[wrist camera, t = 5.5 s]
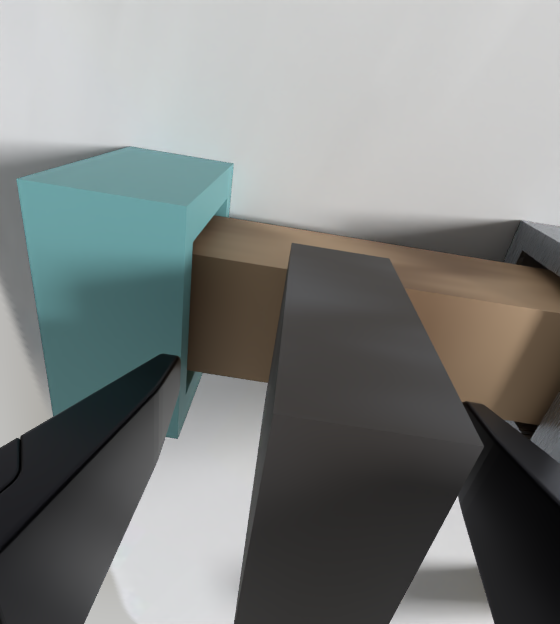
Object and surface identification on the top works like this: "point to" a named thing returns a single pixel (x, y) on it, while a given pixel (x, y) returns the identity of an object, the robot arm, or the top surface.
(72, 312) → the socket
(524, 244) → the sleeve
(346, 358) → the slider
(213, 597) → the top surface
